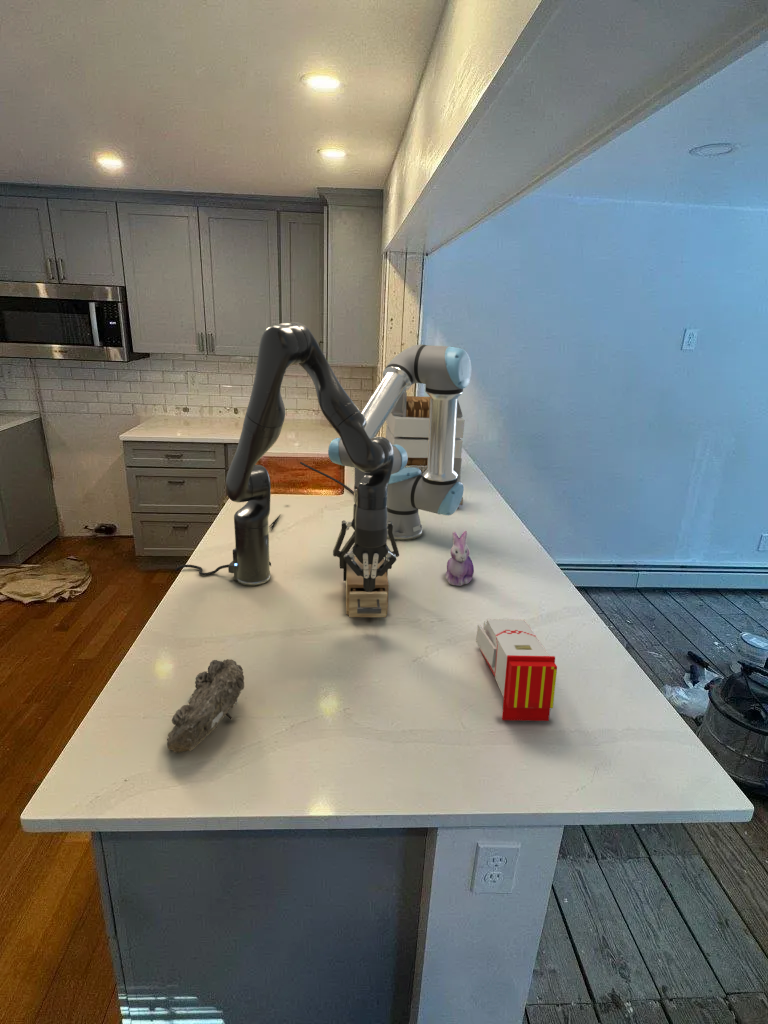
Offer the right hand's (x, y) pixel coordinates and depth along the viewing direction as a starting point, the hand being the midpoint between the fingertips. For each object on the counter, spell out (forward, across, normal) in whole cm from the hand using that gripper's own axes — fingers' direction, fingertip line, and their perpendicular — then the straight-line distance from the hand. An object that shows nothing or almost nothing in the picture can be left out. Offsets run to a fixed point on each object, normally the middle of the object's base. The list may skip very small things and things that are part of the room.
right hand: (365, 578), depth 157 cm
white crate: (+4, +32, +121) cm, 125 cm away
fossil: (+4, -31, -51) cm, 60 cm away
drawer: (+3, 0, -11) cm, 11 cm away
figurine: (+4, +28, +7) cm, 29 cm away
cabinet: (+4, 0, -4) cm, 6 cm away
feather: (+4, -29, +57) cm, 64 cm away
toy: (+4, +30, -40) cm, 50 cm away
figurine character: (+4, +39, +75) cm, 85 cm away
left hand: (-6, 0, -19) cm, 20 cm away
